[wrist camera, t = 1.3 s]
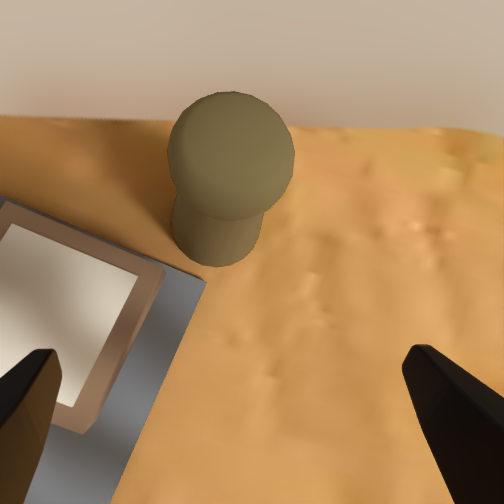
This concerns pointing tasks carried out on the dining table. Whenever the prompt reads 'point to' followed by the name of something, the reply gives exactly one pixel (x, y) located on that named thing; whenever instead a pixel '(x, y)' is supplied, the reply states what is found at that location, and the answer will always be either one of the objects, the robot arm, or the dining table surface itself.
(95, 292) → the build base
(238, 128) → the olive pawn piece
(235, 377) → the dining table surface
